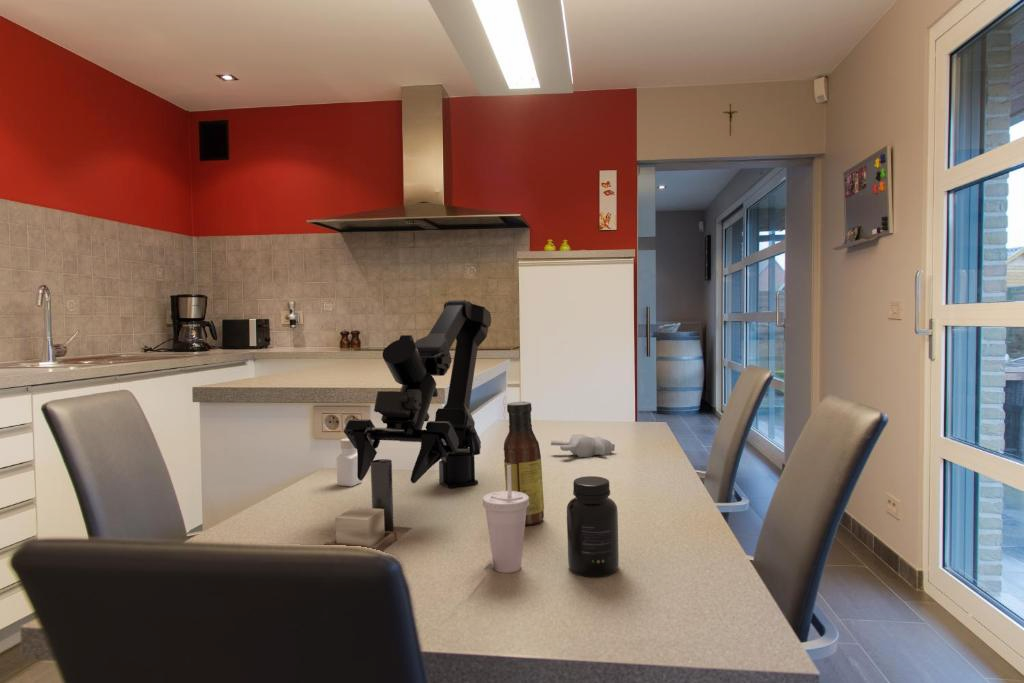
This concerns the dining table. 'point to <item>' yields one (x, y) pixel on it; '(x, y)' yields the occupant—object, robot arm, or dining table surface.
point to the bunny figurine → (585, 446)
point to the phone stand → (382, 504)
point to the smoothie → (506, 526)
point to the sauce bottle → (524, 460)
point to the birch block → (360, 526)
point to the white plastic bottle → (347, 464)
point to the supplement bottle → (592, 528)
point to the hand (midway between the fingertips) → (385, 480)
